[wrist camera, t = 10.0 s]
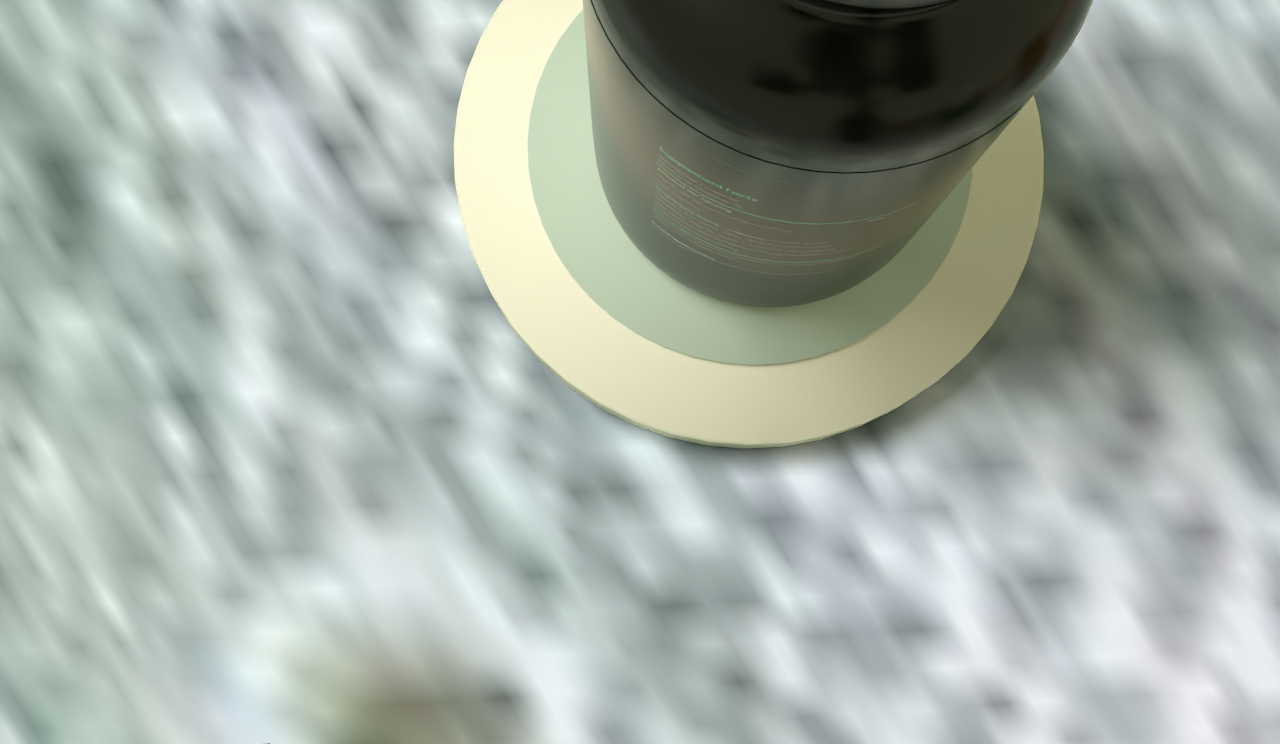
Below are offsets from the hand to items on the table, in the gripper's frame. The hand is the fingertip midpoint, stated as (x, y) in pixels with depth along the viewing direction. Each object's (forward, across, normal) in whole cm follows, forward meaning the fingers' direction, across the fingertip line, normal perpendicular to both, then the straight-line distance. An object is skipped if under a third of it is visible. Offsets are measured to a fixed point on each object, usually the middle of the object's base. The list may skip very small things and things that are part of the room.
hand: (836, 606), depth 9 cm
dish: (+15, -3, +4) cm, 16 cm away
